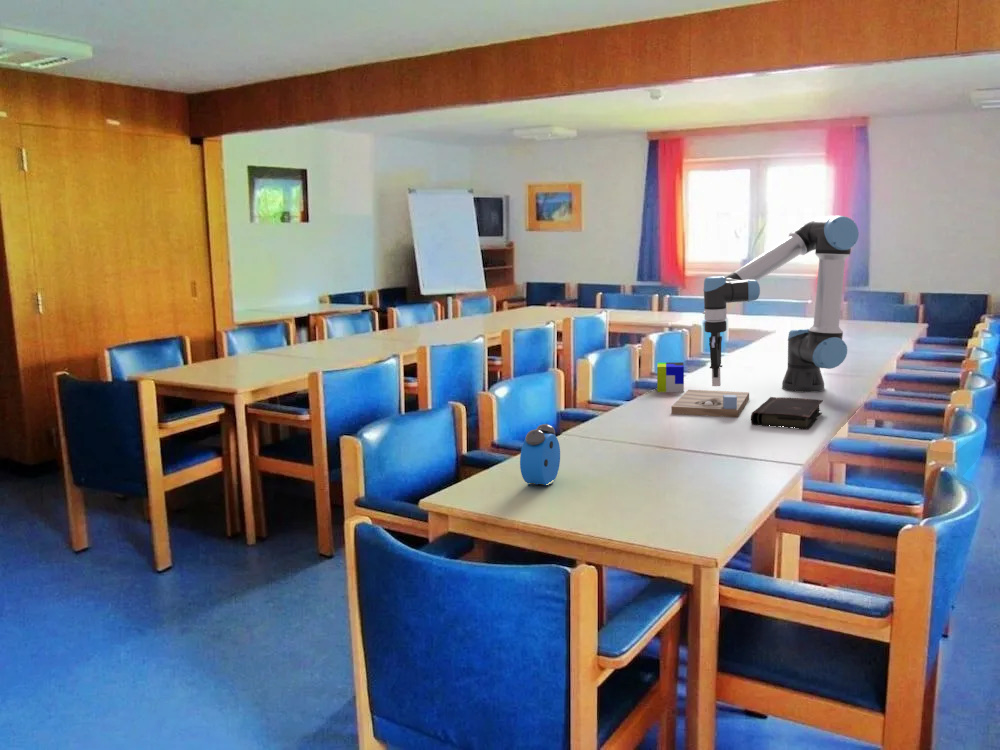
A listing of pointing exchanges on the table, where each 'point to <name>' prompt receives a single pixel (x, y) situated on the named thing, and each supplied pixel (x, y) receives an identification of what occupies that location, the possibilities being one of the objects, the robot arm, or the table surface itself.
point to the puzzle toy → (670, 377)
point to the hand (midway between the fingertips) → (716, 385)
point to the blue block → (729, 401)
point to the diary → (787, 412)
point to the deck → (695, 405)
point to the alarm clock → (540, 455)
